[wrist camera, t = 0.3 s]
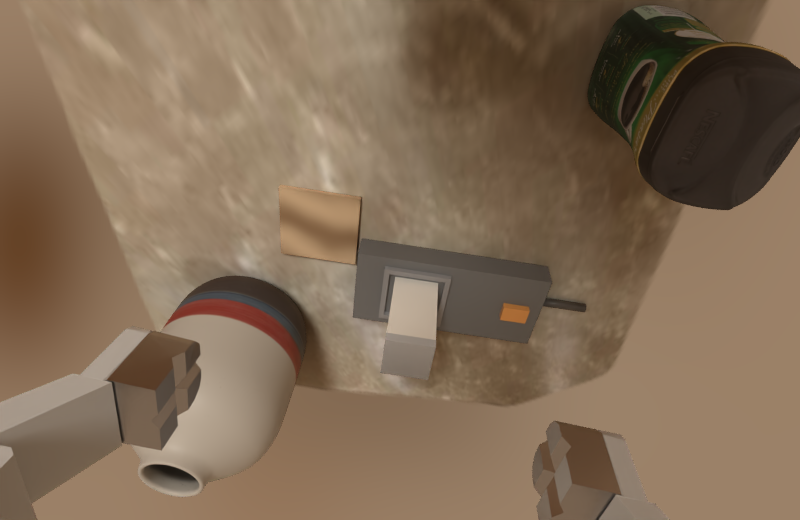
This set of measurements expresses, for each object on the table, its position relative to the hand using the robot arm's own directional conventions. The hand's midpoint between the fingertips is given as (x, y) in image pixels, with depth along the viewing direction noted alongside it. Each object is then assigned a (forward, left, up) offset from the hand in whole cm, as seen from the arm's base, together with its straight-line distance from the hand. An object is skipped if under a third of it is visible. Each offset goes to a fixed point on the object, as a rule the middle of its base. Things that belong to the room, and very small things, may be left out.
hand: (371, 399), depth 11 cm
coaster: (+22, -10, -39) cm, 46 cm away
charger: (+28, +2, -36) cm, 46 cm away
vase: (+38, -19, -39) cm, 58 cm away
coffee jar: (0, +18, -39) cm, 43 cm away
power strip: (+28, +9, -39) cm, 49 cm away
